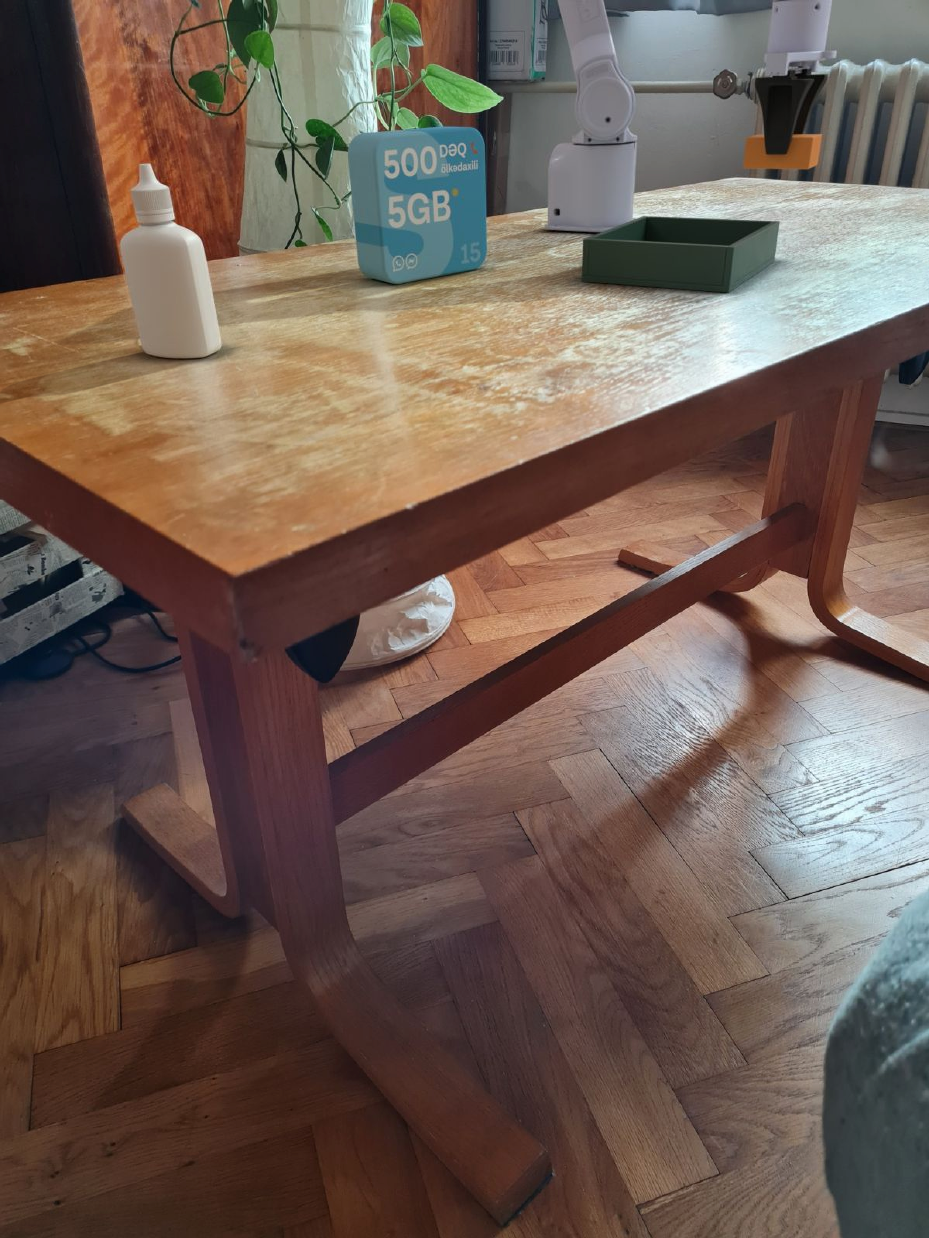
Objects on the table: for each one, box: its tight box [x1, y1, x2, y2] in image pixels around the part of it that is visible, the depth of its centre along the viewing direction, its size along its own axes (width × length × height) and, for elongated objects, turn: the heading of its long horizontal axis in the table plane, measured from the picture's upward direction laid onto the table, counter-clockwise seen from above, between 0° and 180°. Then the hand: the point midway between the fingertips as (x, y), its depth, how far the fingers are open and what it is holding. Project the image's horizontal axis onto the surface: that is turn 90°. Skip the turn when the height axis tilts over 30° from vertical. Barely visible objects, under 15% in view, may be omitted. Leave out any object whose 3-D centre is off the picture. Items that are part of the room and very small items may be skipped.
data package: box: [347, 126, 488, 285], centre depth 81 cm, size 12×4×12 cm, turn 128°
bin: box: [581, 215, 780, 294], centre depth 80 cm, size 13×14×4 cm
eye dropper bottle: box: [119, 163, 222, 359], centre depth 60 cm, size 4×6×12 cm
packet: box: [742, 133, 823, 170], centre depth 97 cm, size 7×4×3 cm, turn 59°
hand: (781, 152), depth 97 cm, fingers closed on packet, 4 cm apart
